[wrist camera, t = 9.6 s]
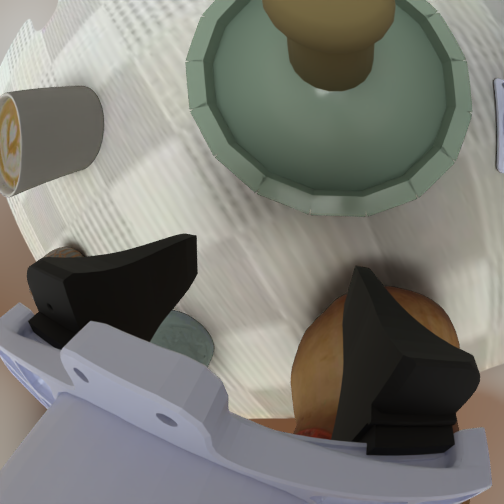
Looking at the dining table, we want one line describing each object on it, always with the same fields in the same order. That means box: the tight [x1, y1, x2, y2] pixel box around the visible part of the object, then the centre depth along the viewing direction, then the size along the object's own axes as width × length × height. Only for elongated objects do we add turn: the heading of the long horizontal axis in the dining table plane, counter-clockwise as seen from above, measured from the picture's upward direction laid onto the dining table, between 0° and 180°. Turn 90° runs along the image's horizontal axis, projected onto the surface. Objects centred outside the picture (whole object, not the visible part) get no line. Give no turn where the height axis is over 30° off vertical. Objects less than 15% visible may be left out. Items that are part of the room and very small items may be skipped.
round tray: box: [185, 0, 472, 217], centre depth 15 cm, size 20×20×2 cm
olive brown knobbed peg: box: [262, 0, 396, 91], centre depth 10 cm, size 6×6×11 cm
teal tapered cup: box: [150, 310, 214, 367], centre depth 26 cm, size 10×10×12 cm
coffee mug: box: [0, 86, 104, 197], centre depth 19 cm, size 13×10×10 cm
